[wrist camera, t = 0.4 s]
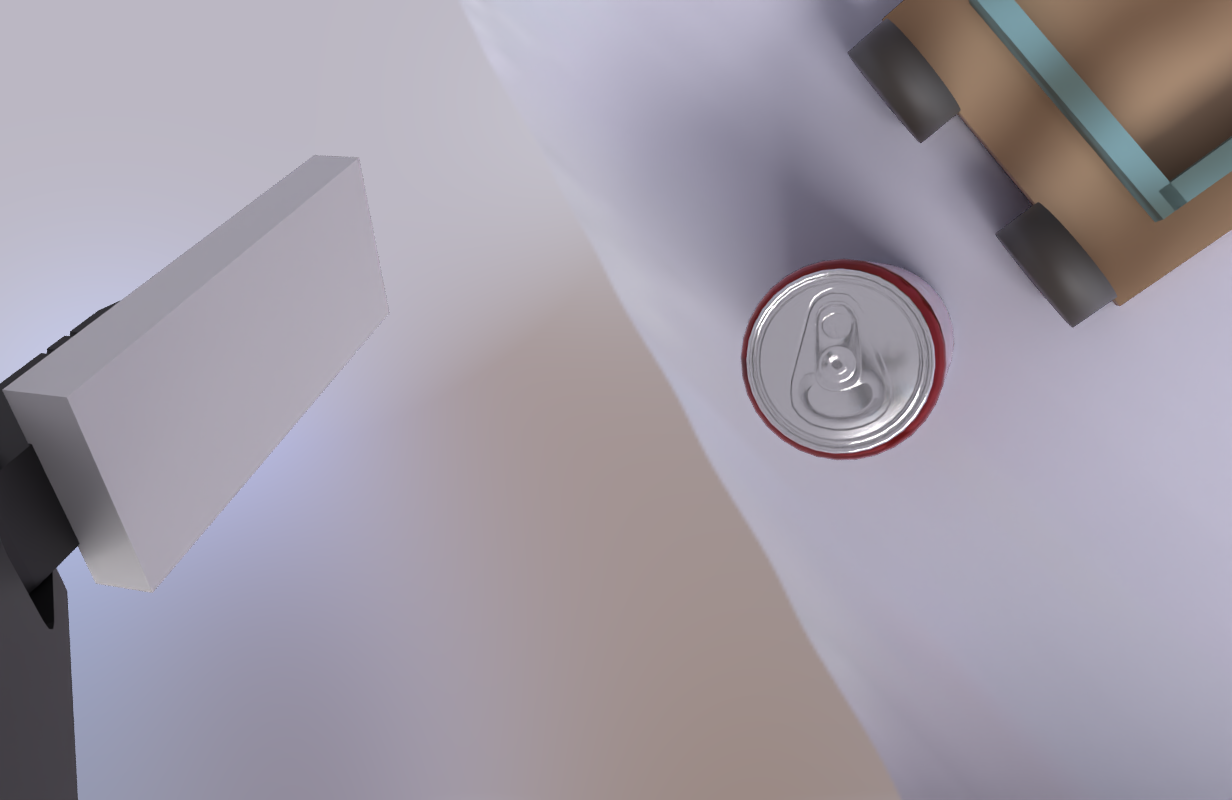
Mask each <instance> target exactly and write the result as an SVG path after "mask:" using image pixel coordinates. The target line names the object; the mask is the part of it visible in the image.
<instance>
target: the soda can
mask: <svg viewBox="0 0 1232 800" xmlns="http://www.w3.org/2000/svg"><path fill="white" fill-rule="evenodd" d="M953 348H954V336H953V326H952V323H951V319H950V315H949V312H948V311H947V309H946V307H945V305H944V303H943V301H942V299H941V298H940V296H939V295H938V294H937V293H936V291H935V290H934V289H933V288H932V287H931V286H930V285H929V284H928V283H927V282H925V281H924V280H923V279H922V278H920V277H919V276H917V275H915V274H913V273H912V272H910V271H908V270H906V269H903V268H900V267H897V266H893V265H890V264H883V263H876V262H869V261H860V260H850V259H837V260H827V261H821V262H818V263H815V264H811V265H808V266H805V267H802V268H801V269H799V270H797V271H795V272H793V273H791V274H789V275H787V276H786V277H784V278H783V279H782V280H781V281H779V282H778V283H777V284H776V285H775V286H773V287H772V288H771V289H770V290H769V291H768V292H767V294H766V295H765V296H764V297H763V298H762V300H761V301H760V302H759V303H758V305H757V307H756V309H755V310H754V312H753V314H752V316H751V318H750V319H749V322H748V325H747V328H746V331H745V334H744V337H743V344H742V352H741V365H742V377H743V381H744V384H745V388H746V392H747V395H748V397H749V399H750V401H751V403H752V405H753V407H754V409H755V411H756V413H757V414H758V415H759V417H760V418H761V419H762V421H763V422H764V423H765V425H766V426H767V427H768V428H769V429H770V430H771V431H772V432H773V433H775V434H776V435H777V436H778V437H779V438H780V439H781V440H783V441H784V442H786V443H788V444H789V445H791V446H793V447H794V448H796V449H798V450H800V451H803V452H805V453H808V454H811V455H813V456H816V457H821V458H827V459H833V460H857V459H861V458H866V457H870V456H875V455H878V454H880V453H882V452H885V451H887V450H889V449H892V448H894V447H896V446H897V445H898V444H900V443H901V442H903V441H904V440H906V439H907V438H909V437H910V436H911V435H912V434H913V433H914V432H915V431H916V430H917V429H918V428H919V427H920V426H921V425H922V424H923V423H924V422H925V421H926V419H927V418H928V416H929V414H930V413H931V411H932V410H933V408H934V406H935V405H936V403H937V400H938V398H939V395H940V392H941V390H942V387H943V384H944V381H945V378H946V375H947V372H948V369H949V366H950V363H951V360H952V354H953Z"/></svg>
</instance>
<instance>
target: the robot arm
mask: <svg viewBox="0 0 1232 800" xmlns="http://www.w3.org/2000/svg"><path fill="white" fill-rule="evenodd" d="M388 314H389V308H388V303H387V298H386V293H385V288H384V283H383V277H382V272H381V267H380V262H379V257H378V252H377V247H376V242H375V236H374V231H373V226H372V222H371V216H370V212H369V206H368V201H367V196H366V191H365V186H364V180H363V175H362V170H361V165H360V160H359V158H355V157H337V156H318V155H315V156H313V157H311V158H310V159H309V160H307V161H306V162H305V163H303V164H302V165H301V166H299V167H298V168H297V169H295V170H294V171H293V172H291V173H290V174H289V175H287V176H286V177H285V178H283V179H282V180H281V181H279V182H278V183H277V184H275V185H274V186H273V187H271V188H270V189H269V190H267V191H266V192H265V193H263V194H262V195H261V196H260V197H258V198H257V199H255V200H254V201H253V202H251V203H250V204H249V205H247V206H246V207H245V208H243V209H242V210H241V211H239V212H238V213H237V214H235V215H234V216H233V217H231V218H230V219H229V220H228V221H226V222H225V223H223V224H222V225H221V226H219V227H218V228H217V229H215V230H214V231H213V232H211V233H210V234H209V235H208V236H206V237H205V238H203V239H202V240H201V241H200V242H198V243H197V244H196V245H194V246H193V247H192V248H190V249H189V250H188V251H186V252H185V253H184V254H182V255H181V256H180V257H178V258H177V259H176V260H174V261H173V262H172V263H170V264H169V265H168V266H166V267H165V268H164V269H162V270H161V271H160V272H158V273H157V274H156V275H154V276H153V277H152V278H150V279H149V280H148V281H146V282H145V283H144V284H142V285H141V286H140V287H138V288H137V289H136V290H134V291H133V292H132V293H131V294H129V295H128V296H126V297H125V298H124V299H122V300H121V301H118V302H116V303H114V304H112V305H110V306H107V307H105V308H103V309H101V310H99V311H97V312H96V313H95V314H93V315H92V316H91V317H89V318H88V319H86V320H85V321H84V322H82V323H81V324H80V325H78V326H77V327H76V328H75V329H73V330H72V331H70V336H64V337H62V338H61V339H60V340H58V341H57V342H56V343H54V344H53V345H51V346H50V347H49V348H48V349H47V354H44V353H41V354H39V355H38V356H37V357H35V358H34V359H33V360H31V361H30V362H29V363H27V364H26V365H25V366H23V367H22V368H21V369H19V370H18V371H16V372H15V373H14V374H12V375H11V376H10V377H8V378H7V379H6V380H4V381H3V382H2V383H0V800H78V794H77V775H76V755H75V735H74V717H73V696H72V678H71V657H70V638H69V618H68V598H67V590H66V588H65V585H64V583H63V581H62V579H61V577H60V575H59V573H58V571H57V569H56V567H57V566H58V565H59V564H60V563H61V562H62V561H63V560H64V559H65V558H66V557H67V556H68V555H69V554H70V553H71V552H72V551H73V550H74V549H75V548H76V547H77V546H78V547H79V549H80V552H81V553H82V556H83V558H84V560H85V562H86V564H87V566H88V568H89V570H90V572H91V574H92V576H93V578H94V581H95V582H96V584H102V585H108V586H115V587H121V588H127V589H133V590H139V591H145V592H154V591H155V589H156V588H157V587H158V586H159V585H160V584H161V582H162V581H163V580H164V579H165V578H166V576H167V575H168V574H169V573H170V572H171V571H172V569H173V568H174V567H175V566H176V564H177V563H178V562H179V561H180V560H181V559H182V557H183V556H184V555H185V554H186V553H187V552H188V550H189V549H190V548H191V547H192V546H193V545H194V543H195V542H196V541H197V540H198V539H199V537H200V536H201V535H202V534H203V533H204V532H205V530H206V529H207V528H208V527H209V526H210V525H211V523H212V522H213V521H214V520H215V518H216V517H217V516H218V515H219V514H220V513H221V511H222V510H223V509H224V508H225V507H226V505H227V504H228V503H229V502H230V501H231V500H232V498H233V497H234V496H235V495H236V494H237V493H238V491H239V490H240V489H241V488H242V487H243V485H244V484H245V483H246V482H247V481H248V480H249V478H250V477H251V476H252V475H253V474H254V473H255V471H256V470H257V469H258V468H259V467H260V465H261V464H262V463H263V462H264V461H265V460H266V458H267V457H268V456H269V455H270V454H271V452H272V451H273V450H274V449H275V447H277V445H278V444H279V443H280V442H281V441H282V439H283V438H284V437H285V436H286V435H287V434H288V432H289V431H290V430H291V429H292V428H293V426H294V425H295V424H296V423H297V422H298V420H299V419H300V418H301V417H302V415H303V414H304V413H305V412H306V411H307V410H308V409H309V408H310V406H311V405H312V404H313V403H314V402H315V400H316V399H317V398H318V397H319V396H320V394H321V393H322V392H323V391H324V390H325V389H326V387H327V386H328V385H329V384H330V383H331V382H332V380H333V379H334V378H335V377H336V376H337V374H338V373H339V372H340V371H341V370H342V369H343V367H344V366H345V365H346V364H347V363H348V362H349V360H350V359H351V358H352V357H353V355H354V354H355V353H356V352H357V351H358V350H359V349H360V347H361V346H362V345H363V344H364V342H365V341H366V340H367V339H368V338H369V336H370V335H371V334H372V333H373V332H374V331H375V330H376V328H377V327H378V326H379V325H380V324H381V323H382V321H383V320H384V319H385V318H386V317H387V315H388Z"/></svg>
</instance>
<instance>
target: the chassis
mask: <svg viewBox="0 0 1232 800" xmlns="http://www.w3.org/2000/svg"><path fill="white" fill-rule="evenodd" d="M882 21H883V22H882V23H880V24H879V25H878V26H877V27H876V28H875V29H874V30H873V31H871V32H870V33H869V34H868V35H867V36H866V37H865V38H863V39H862V40H861V41H860V42H859V43H858V44H857V45H856V46H854V47H853V48H852V49H851V50H850V51H849V52H848V55H849V56H850V58H851V59H852V61H853V62H854V63H855V65H856V66H857V67H858V69H859V70H860V71H861V73H862V74H863V75H864V77H865V78H866V79H867V80H868V82H869V83H870V84H871V86H872V87H873V88H874V89H875V91H876V92H877V93H878V94H879V96H880V97H881V98H882V99H883V101H884V102H885V103H886V104H887V106H888V107H889V108H890V109H891V110H892V112H893V113H894V114H895V115H896V116H897V118H898V119H899V120H900V121H901V122H902V124H903V125H904V126H905V127H906V128H907V129H908V131H909V132H910V133H911V134H912V135H913V136H914V137H915V138H916V139H917V141H918V142H920V143H922V142H923V141H924V140H926V139H927V138H928V137H929V136H931V135H932V134H933V133H934V132H935V131H937V130H938V129H939V128H940V127H942V126H943V125H944V124H945V123H946V122H948V121H949V120H950V119H951V118H953V117H954V116H955V115H956V114H958V115H959V117H960V118H961V119H962V120H963V121H964V123H965V124H966V125H967V126H968V127H969V129H970V130H971V131H972V132H973V133H974V135H975V136H976V137H977V138H978V139H979V141H980V142H981V143H982V144H983V145H984V147H985V148H986V149H987V150H988V151H989V153H990V154H991V155H992V156H993V157H994V159H995V160H996V161H997V162H998V164H999V165H1000V166H1001V167H1002V168H1003V170H1004V171H1005V172H1006V173H1007V174H1008V176H1009V177H1010V178H1011V179H1012V180H1013V182H1014V183H1015V184H1016V185H1017V186H1018V188H1019V189H1020V190H1021V191H1022V192H1023V194H1024V195H1025V196H1026V197H1027V198H1028V200H1029V201H1030V202H1031V203H1032V204H1033V206H1032V207H1030V208H1029V209H1028V210H1026V211H1025V212H1024V213H1022V214H1021V215H1020V216H1018V217H1017V218H1016V219H1014V220H1013V221H1012V222H1010V223H1009V224H1008V225H1006V226H1005V227H1004V228H1002V229H1001V230H1000V231H999V232H997V233H996V236H997V238H998V239H999V240H1000V242H1001V243H1002V245H1003V246H1004V247H1005V249H1006V250H1007V251H1008V252H1009V254H1010V255H1011V256H1012V258H1013V259H1014V260H1015V261H1016V263H1017V264H1018V265H1019V266H1020V268H1021V269H1022V270H1023V271H1024V273H1025V274H1026V275H1027V276H1028V278H1029V279H1030V280H1031V281H1032V282H1033V284H1034V285H1035V286H1036V287H1037V288H1038V290H1039V291H1040V292H1041V293H1042V294H1043V296H1044V297H1045V298H1046V299H1047V300H1048V302H1049V303H1050V304H1051V305H1052V306H1053V307H1054V309H1055V310H1056V311H1057V312H1058V313H1059V314H1060V315H1061V316H1062V318H1063V319H1064V320H1065V321H1066V322H1067V323H1068V324H1069V325H1070V326H1071V327H1072V328H1073V327H1074V326H1076V325H1077V324H1079V323H1080V322H1082V321H1083V320H1085V319H1086V318H1087V317H1089V316H1090V315H1092V314H1093V313H1095V312H1096V311H1098V310H1099V309H1100V308H1102V307H1103V306H1105V305H1106V304H1108V303H1109V302H1111V301H1113V302H1114V303H1115V304H1116V305H1117V306H1121V305H1122V304H1124V303H1125V302H1127V301H1128V300H1130V299H1131V298H1133V297H1134V296H1135V295H1137V294H1138V293H1140V292H1141V291H1143V290H1144V289H1146V288H1147V287H1149V286H1150V285H1152V284H1153V283H1154V282H1156V281H1157V280H1159V279H1160V278H1162V277H1163V276H1165V275H1166V274H1168V273H1169V272H1171V271H1172V270H1173V269H1175V268H1176V267H1178V266H1179V265H1181V264H1182V263H1184V262H1185V261H1187V260H1188V259H1189V258H1191V257H1192V256H1194V255H1195V254H1197V253H1198V252H1200V251H1201V250H1203V249H1204V248H1206V247H1207V246H1208V245H1210V244H1211V243H1213V242H1214V241H1216V240H1217V239H1219V238H1220V237H1222V236H1223V235H1224V234H1226V233H1227V232H1229V231H1230V230H1232V0H903V1H902V2H901V3H900V4H899V5H898V6H897V7H896V8H894V9H893V10H892V11H891V12H890V13H889V14H888V15H886V16H885V17H884V18H883V19H882Z"/></svg>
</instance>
